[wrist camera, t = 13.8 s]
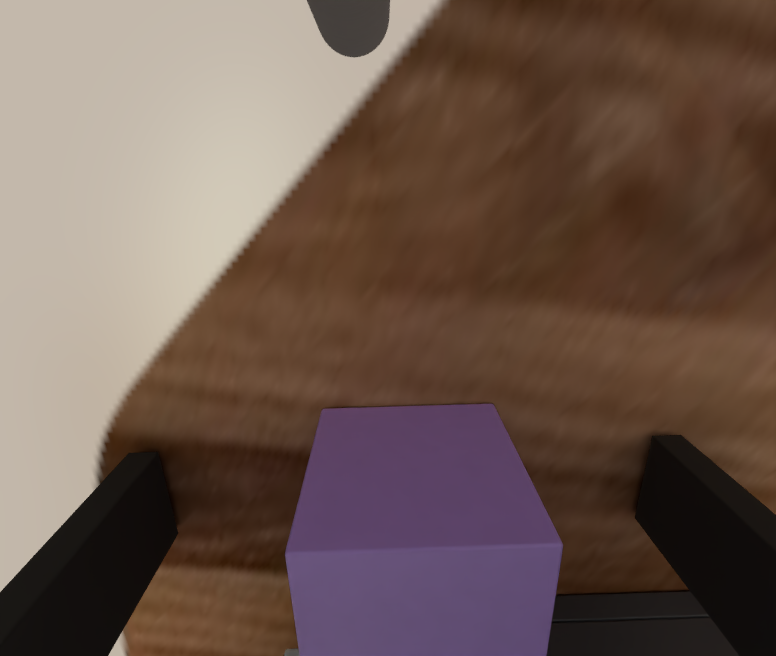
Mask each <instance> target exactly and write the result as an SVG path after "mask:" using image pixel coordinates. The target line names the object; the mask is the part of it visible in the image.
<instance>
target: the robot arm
mask: <svg viewBox="0 0 776 656" xmlns="http://www.w3.org/2000/svg"><path fill="white" fill-rule="evenodd" d="M635 519H636V520H637V521H638V523H639V524H640V525H641V527H642V528H643V529H644V531H645V532H646V533H647V535H648V536H649V537H650V539H651V540H652V541H653V543H654V544H655V545H656V546H657V548H658V549H659V550H660V552H661V553H662V554H663V556H664V557H665V558H666V560H667V561H668V562H669V564H670V565H671V566H672V568H673V569H674V570H675V572H676V573H677V574H678V576H679V577H680V578H681V580H682V581H683V582H684V583H685V585H686V586H687V587H688V589H689V590H690V591H691V593H692V594H693V595H694V597H695V598H696V599H697V601H698V602H699V603H700V605H701V606H702V607H703V609H704V610H705V611H706V613H707V614H708V615H709V617H710V618H711V619H712V621H713V622H714V623H715V624H716V626H717V627H718V628H719V630H720V631H721V632H722V634H723V635H724V636H725V638H726V639H727V640H728V642H729V643H730V644H731V646H732V647H733V648H734V650H735V651H736V652H737V654H738V655H739V656H776V515H775V514H774V513H773V512H772V511H770V510H769V509H768V508H767V507H766V506H764V505H763V504H762V503H761V502H760V501H759V500H757V499H756V498H755V497H754V496H753V495H751V494H750V493H749V492H748V491H747V490H745V489H744V488H743V487H742V486H741V485H740V484H738V483H737V482H736V481H735V480H734V479H732V478H731V477H730V476H729V475H728V474H727V473H725V472H724V471H723V470H722V469H721V468H719V467H718V466H717V465H716V464H715V463H713V462H712V461H711V460H710V459H709V458H708V457H706V456H705V455H704V454H703V453H702V452H700V451H699V450H698V449H697V448H696V447H695V446H693V445H692V444H691V443H690V442H689V441H687V440H686V439H685V438H684V437H683V436H682V435H666V436H652V440H651V445H650V449H649V454H648V459H647V463H646V468H645V473H644V477H643V482H642V487H641V491H640V496H639V501H638V505H637V510H636V515H635ZM177 535H178V530H177V526H176V522H175V518H174V514H173V510H172V506H171V502H170V498H169V494H168V490H167V486H166V482H165V478H164V474H163V470H162V466H161V462H160V458H159V454H158V452H144V453H129V454H128V455H127V456H126V457H125V458H124V459H123V460H122V461H121V462H120V463H119V464H118V465H117V467H116V468H115V469H114V470H113V471H112V472H111V473H110V474H109V475H108V476H107V477H106V478H105V480H104V481H103V482H102V483H101V484H100V485H99V486H98V487H97V488H96V489H95V490H94V491H93V493H92V494H91V495H90V496H89V497H88V498H87V499H86V500H85V501H84V502H83V503H82V504H81V505H80V507H79V508H78V509H77V510H76V511H75V512H74V513H73V514H72V515H71V516H70V517H69V518H68V520H67V521H66V522H65V523H64V524H63V525H62V526H61V527H60V528H59V529H58V530H57V531H56V533H55V534H54V535H53V536H52V537H51V538H50V539H49V540H48V541H47V542H46V543H45V544H44V545H43V547H42V548H41V549H40V550H39V551H38V552H37V553H36V554H35V555H34V556H33V558H31V560H30V561H29V562H28V563H27V564H26V565H25V566H24V567H23V568H22V569H21V571H20V572H19V573H18V574H17V575H16V576H15V577H14V578H13V579H12V580H11V581H10V582H9V583H8V584H7V586H6V587H5V588H4V589H3V590H2V591H1V592H0V656H108V655H109V653H110V651H111V650H112V648H113V646H114V644H115V643H116V641H117V639H118V637H119V636H120V634H121V632H122V631H123V629H124V627H125V625H126V624H127V622H128V620H129V618H130V617H131V615H132V613H133V611H134V610H135V608H136V606H137V604H138V603H139V601H140V599H141V597H142V596H143V594H144V592H145V590H146V589H147V587H148V585H149V583H150V582H151V580H152V578H153V576H154V575H155V573H156V571H157V570H158V568H159V566H160V564H161V563H162V561H163V559H164V557H165V556H166V554H167V552H168V550H169V549H170V547H171V545H172V543H173V542H174V540H175V538H176V536H177Z"/></svg>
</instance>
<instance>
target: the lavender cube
mask: <svg viewBox="0 0 776 656" xmlns="http://www.w3.org/2000/svg"><path fill="white" fill-rule="evenodd" d="M562 550H563V543H562V541H561V539H560V537H559V535H558V533H557V531H556V529H555V527H554V525H553V523H552V521H551V519H550V517H549V515H548V513H547V511H546V509H545V507H544V505H543V503H542V501H541V499H540V497H539V495H538V493H537V491H536V489H535V487H534V485H533V483H532V481H531V479H530V477H529V475H528V473H527V471H526V469H525V467H524V465H523V462H522V460H521V458H520V456H519V454H518V452H517V450H516V448H515V446H514V444H513V442H512V440H511V438H510V436H509V434H508V432H507V430H506V428H505V426H504V424H503V422H502V420H501V418H500V416H499V414H498V412H497V410H496V408H495V406H494V404H459V405H426V406H394V407H361V408H328V409H322V411H321V415H320V419H319V422H318V426H317V430H316V434H315V438H314V442H313V446H312V450H311V454H310V458H309V461H308V465H307V469H306V473H305V477H304V481H303V485H302V489H301V493H300V497H299V500H298V504H297V508H296V512H295V516H294V520H293V524H292V528H291V532H290V535H289V539H288V543H287V547H286V551H285V558H286V565H287V572H288V579H289V586H290V593H291V600H292V607H293V613H294V620H295V627H296V634H297V641H298V648H299V655H300V656H547V649H548V642H549V636H550V629H551V623H552V616H553V610H554V603H555V596H556V590H557V583H558V577H559V570H560V564H561V557H562Z"/></svg>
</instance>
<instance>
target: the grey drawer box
mask: <svg viewBox="0 0 776 656" xmlns="http://www.w3.org/2000/svg"><path fill="white" fill-rule="evenodd" d="M547 656H739V655H738V654H737V652H736V651H735V650H734V648H733V647H732V646H731V644H730V643H729V642H728V640H727V639H726V638H725V636H724V635H723V634H722V632H721V631H720V630H719V628H718V627H717V626H716V624H715V623H714V622H713V621H712V619H711V618H710V617H709V615H708V614H707V613H706V611H705V610H704V609H703V607H702V606H701V605H700V603H699V602H698V601H697V599H696V598H695V597H694V595H693V594H692V593H691V591H687V592H657V593H627V594H597V595H567V596H555V603H554V610H553V616H552V623H551V629H550V636H549V642H548V649H547Z"/></svg>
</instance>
